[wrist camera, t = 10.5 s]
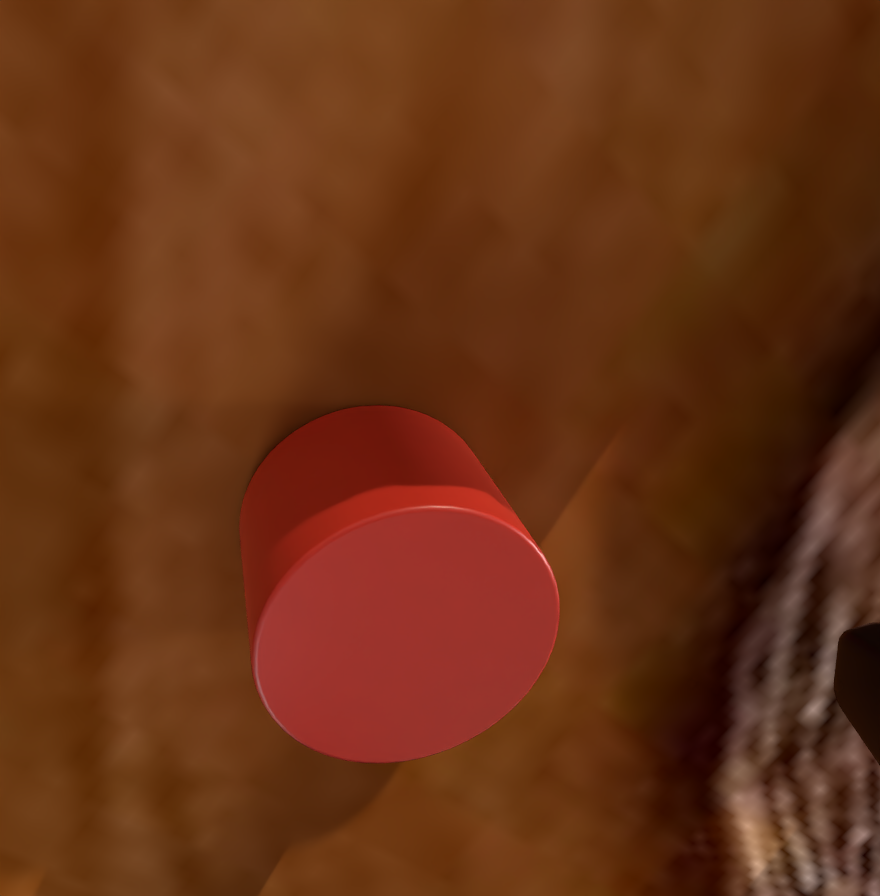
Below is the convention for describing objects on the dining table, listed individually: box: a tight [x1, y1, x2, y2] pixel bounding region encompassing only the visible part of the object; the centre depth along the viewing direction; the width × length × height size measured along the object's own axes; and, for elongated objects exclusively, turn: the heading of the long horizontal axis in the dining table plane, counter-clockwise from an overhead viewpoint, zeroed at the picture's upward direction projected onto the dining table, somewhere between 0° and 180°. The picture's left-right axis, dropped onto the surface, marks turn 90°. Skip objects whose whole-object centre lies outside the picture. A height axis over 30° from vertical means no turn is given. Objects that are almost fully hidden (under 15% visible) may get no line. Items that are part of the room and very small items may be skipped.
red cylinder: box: [239, 405, 559, 763], centre depth 12 cm, size 4×4×3 cm
